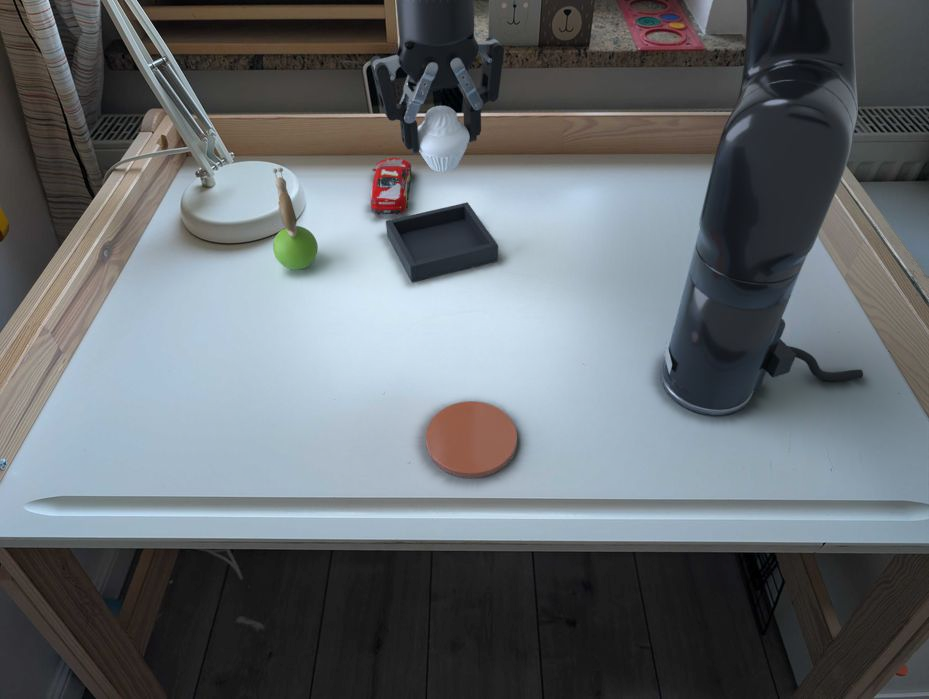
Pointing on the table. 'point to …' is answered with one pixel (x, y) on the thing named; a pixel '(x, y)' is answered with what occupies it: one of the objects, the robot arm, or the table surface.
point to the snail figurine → (292, 234)
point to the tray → (441, 241)
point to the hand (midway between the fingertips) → (442, 143)
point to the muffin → (442, 139)
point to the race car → (391, 186)
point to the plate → (471, 439)
